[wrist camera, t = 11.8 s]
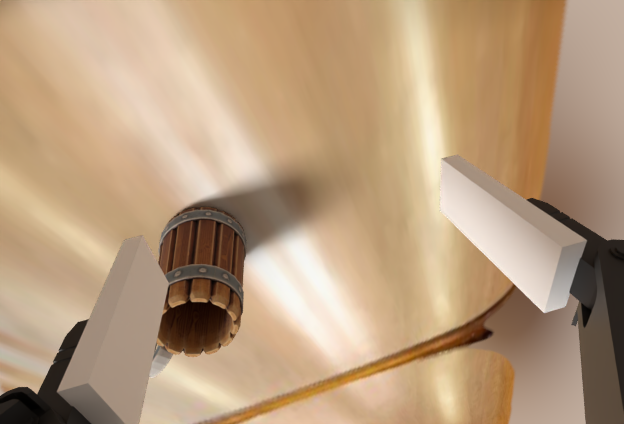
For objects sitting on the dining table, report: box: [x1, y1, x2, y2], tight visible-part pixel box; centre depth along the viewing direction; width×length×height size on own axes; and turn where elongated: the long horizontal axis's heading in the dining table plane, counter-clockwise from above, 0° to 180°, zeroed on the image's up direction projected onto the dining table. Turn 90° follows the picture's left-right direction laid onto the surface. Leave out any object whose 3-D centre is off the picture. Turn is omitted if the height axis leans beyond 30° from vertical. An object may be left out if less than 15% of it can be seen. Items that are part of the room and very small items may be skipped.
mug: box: [149, 207, 246, 378], centre depth 40 cm, size 16×11×15 cm
